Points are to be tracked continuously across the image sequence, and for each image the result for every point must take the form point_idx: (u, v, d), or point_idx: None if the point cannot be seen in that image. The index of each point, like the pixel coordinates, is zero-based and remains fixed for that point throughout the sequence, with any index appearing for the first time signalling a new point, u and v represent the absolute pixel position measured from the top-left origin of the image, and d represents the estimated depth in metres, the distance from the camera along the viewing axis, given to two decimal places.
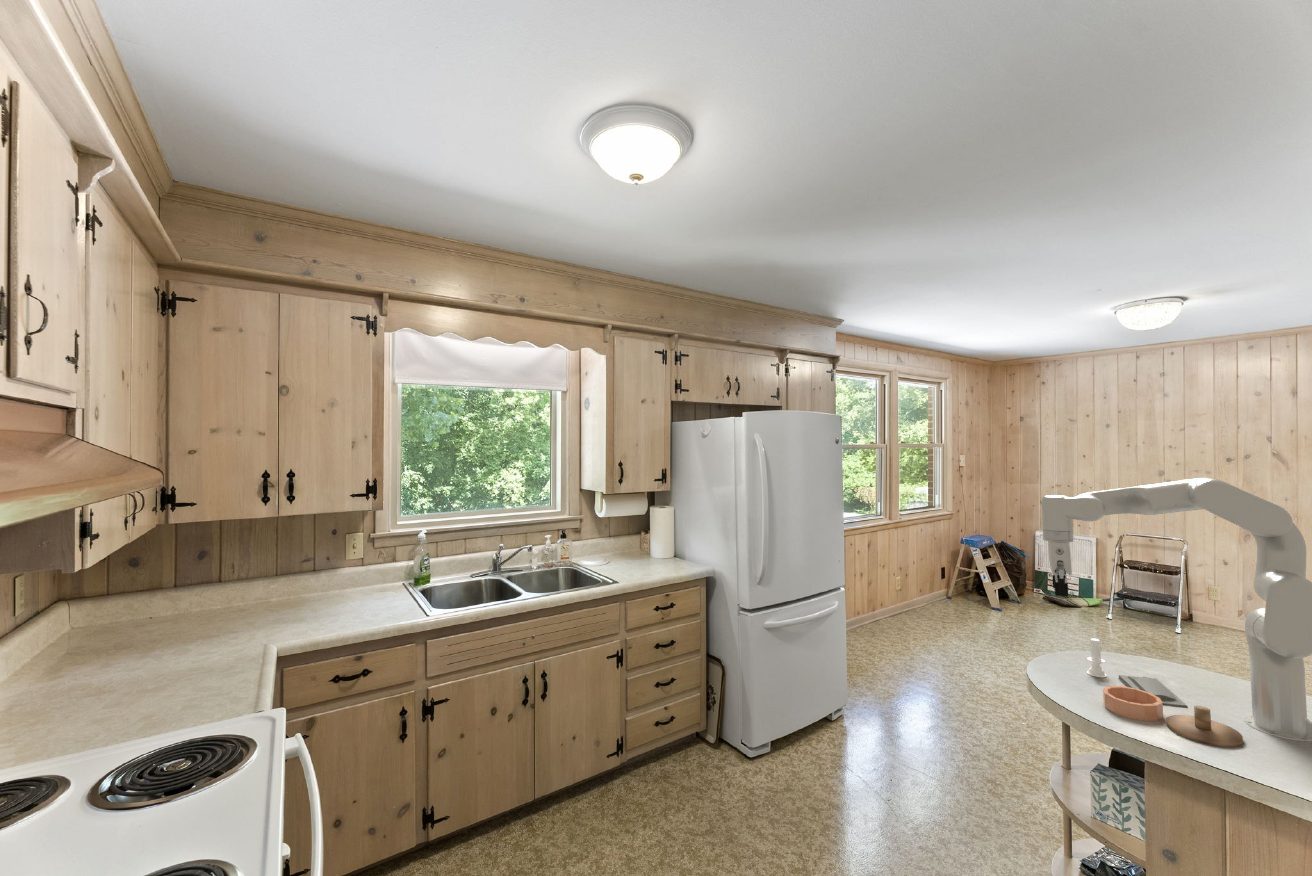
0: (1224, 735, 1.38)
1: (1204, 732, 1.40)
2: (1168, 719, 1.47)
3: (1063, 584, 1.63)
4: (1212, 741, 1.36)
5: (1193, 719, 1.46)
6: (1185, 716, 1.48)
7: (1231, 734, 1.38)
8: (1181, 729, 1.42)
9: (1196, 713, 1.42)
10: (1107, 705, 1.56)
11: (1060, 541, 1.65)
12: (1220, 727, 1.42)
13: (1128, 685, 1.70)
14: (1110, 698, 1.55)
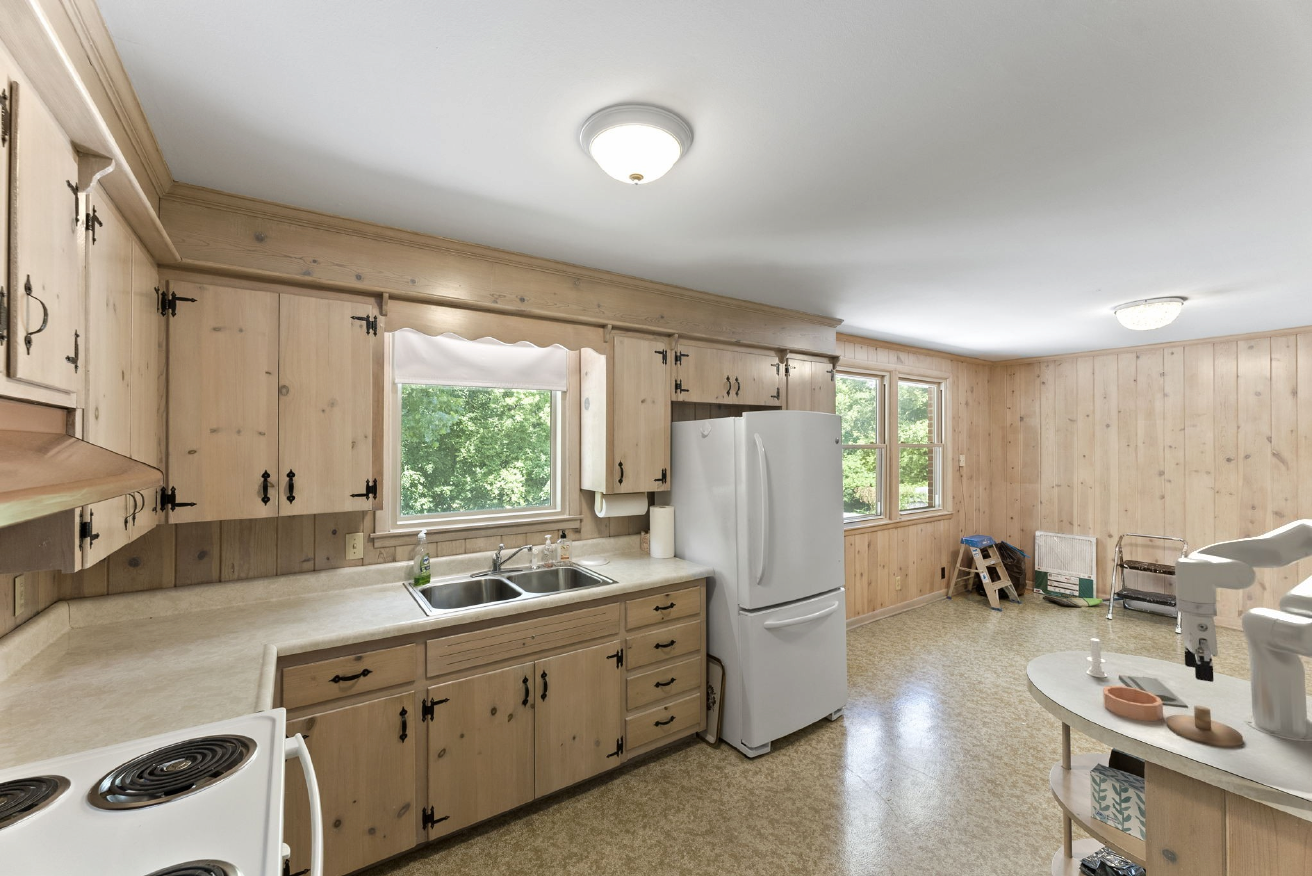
0: (1224, 735, 1.38)
1: (1204, 732, 1.40)
2: (1168, 719, 1.47)
3: (1207, 667, 1.37)
4: (1212, 741, 1.36)
5: (1193, 719, 1.46)
6: (1185, 716, 1.48)
7: (1231, 734, 1.38)
8: (1181, 729, 1.42)
9: (1196, 713, 1.42)
10: (1107, 705, 1.56)
11: (1202, 615, 1.39)
12: (1220, 727, 1.42)
13: (1128, 685, 1.70)
14: (1110, 698, 1.55)
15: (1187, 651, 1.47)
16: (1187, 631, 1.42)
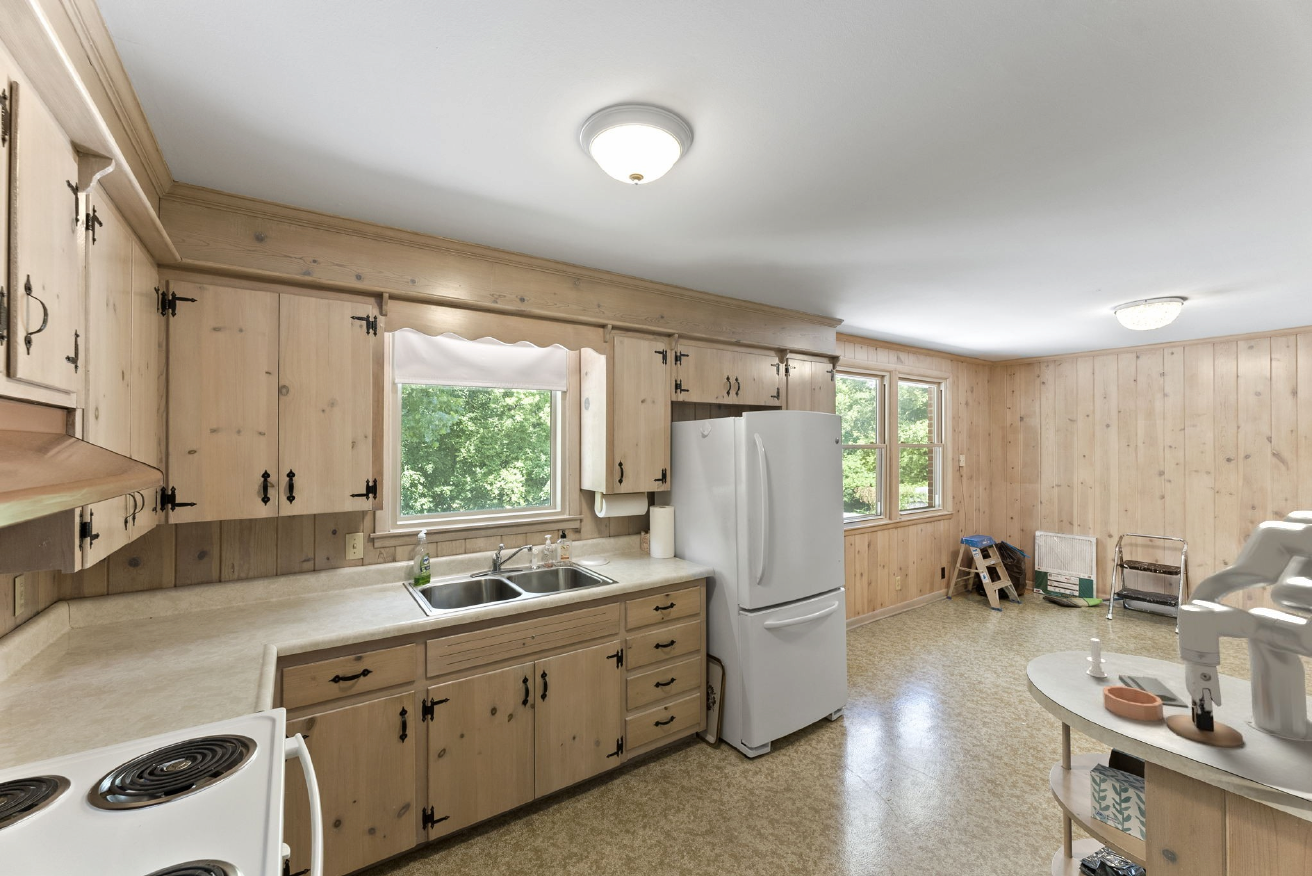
0: (1224, 735, 1.38)
1: (1204, 732, 1.40)
2: (1168, 719, 1.47)
3: (1208, 717, 1.39)
4: (1212, 741, 1.36)
5: None
6: (1185, 716, 1.48)
7: (1231, 734, 1.38)
8: (1181, 729, 1.42)
9: None
10: (1107, 705, 1.56)
11: (1205, 664, 1.39)
12: (1220, 727, 1.42)
13: (1128, 685, 1.70)
14: (1110, 698, 1.55)
15: (1194, 705, 1.44)
16: (1190, 680, 1.41)
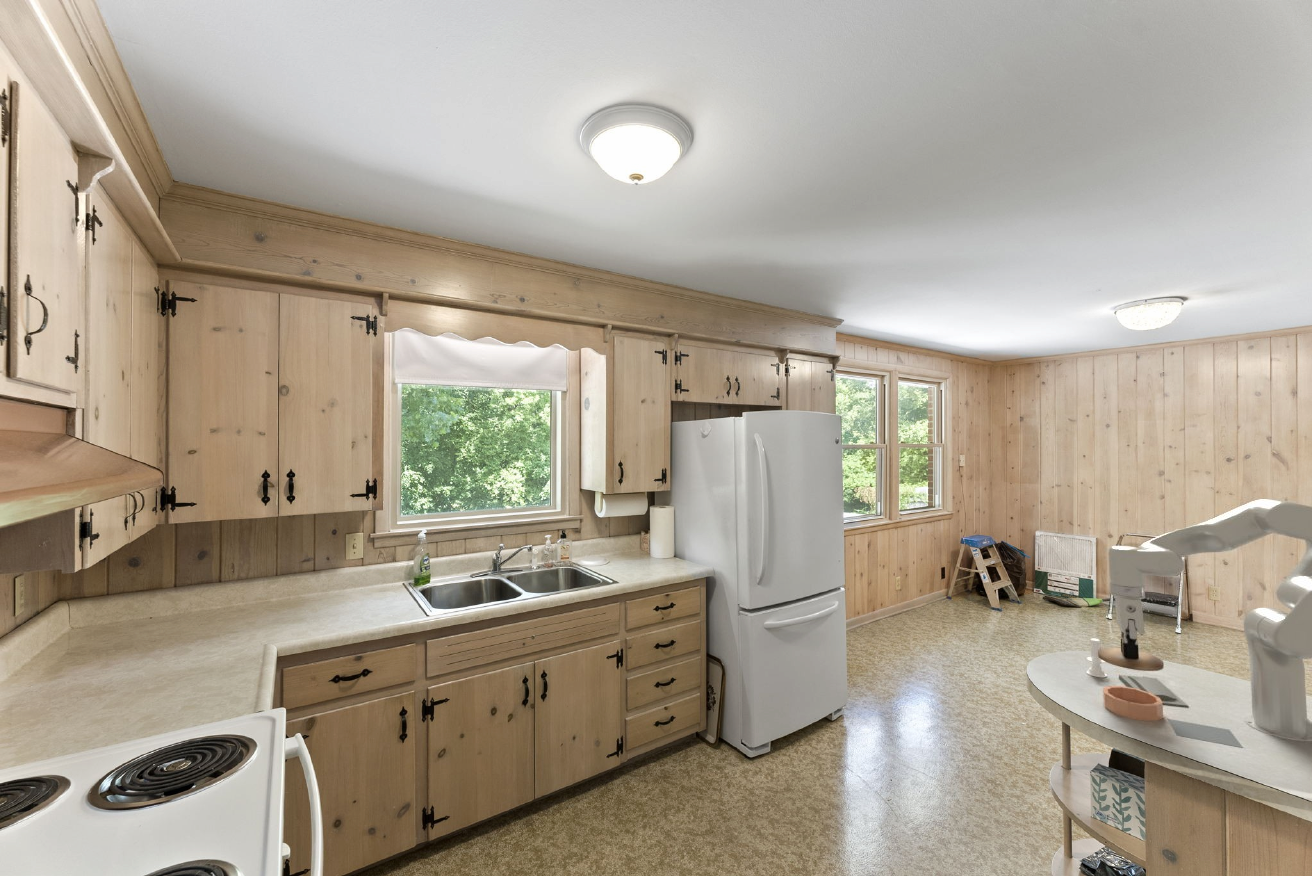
0: (1147, 661, 1.51)
1: (1129, 659, 1.53)
2: (1100, 651, 1.60)
3: (1133, 646, 1.53)
4: (1135, 666, 1.49)
5: None
6: (1116, 648, 1.61)
7: (1153, 661, 1.52)
8: (1109, 657, 1.55)
9: None
10: (1107, 705, 1.56)
11: (1131, 597, 1.52)
12: (1145, 656, 1.55)
13: (1128, 685, 1.70)
14: (1110, 698, 1.55)
15: None
16: (1118, 613, 1.55)
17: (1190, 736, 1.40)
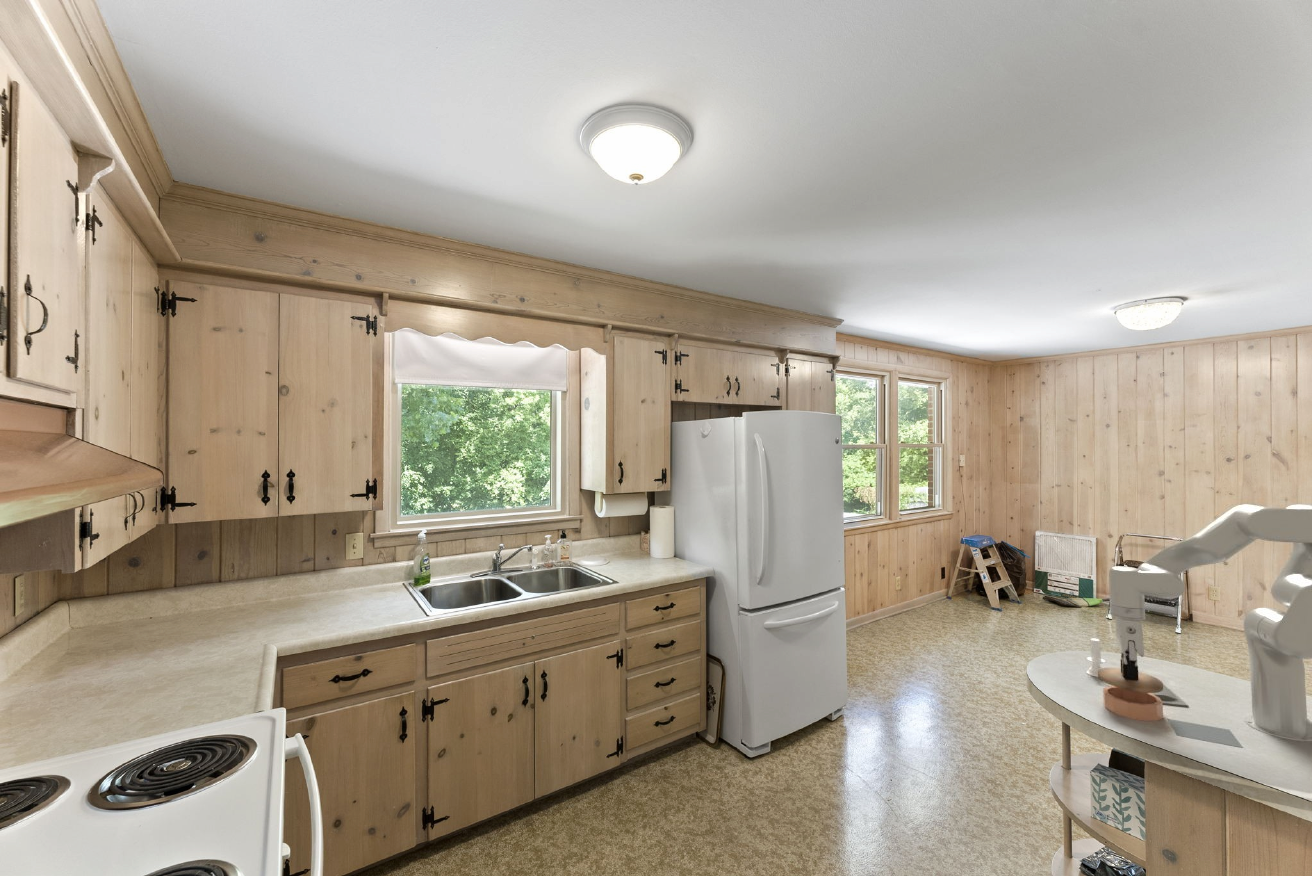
0: (1147, 683, 1.51)
1: (1129, 681, 1.53)
2: (1100, 671, 1.60)
3: (1133, 667, 1.53)
4: (1134, 687, 1.49)
5: None
6: (1115, 668, 1.61)
7: (1153, 682, 1.52)
8: (1109, 678, 1.55)
9: None
10: (1107, 705, 1.56)
11: (1131, 619, 1.52)
12: (1145, 677, 1.55)
13: None
14: (1110, 698, 1.55)
15: None
16: (1118, 633, 1.55)
17: (1190, 736, 1.40)
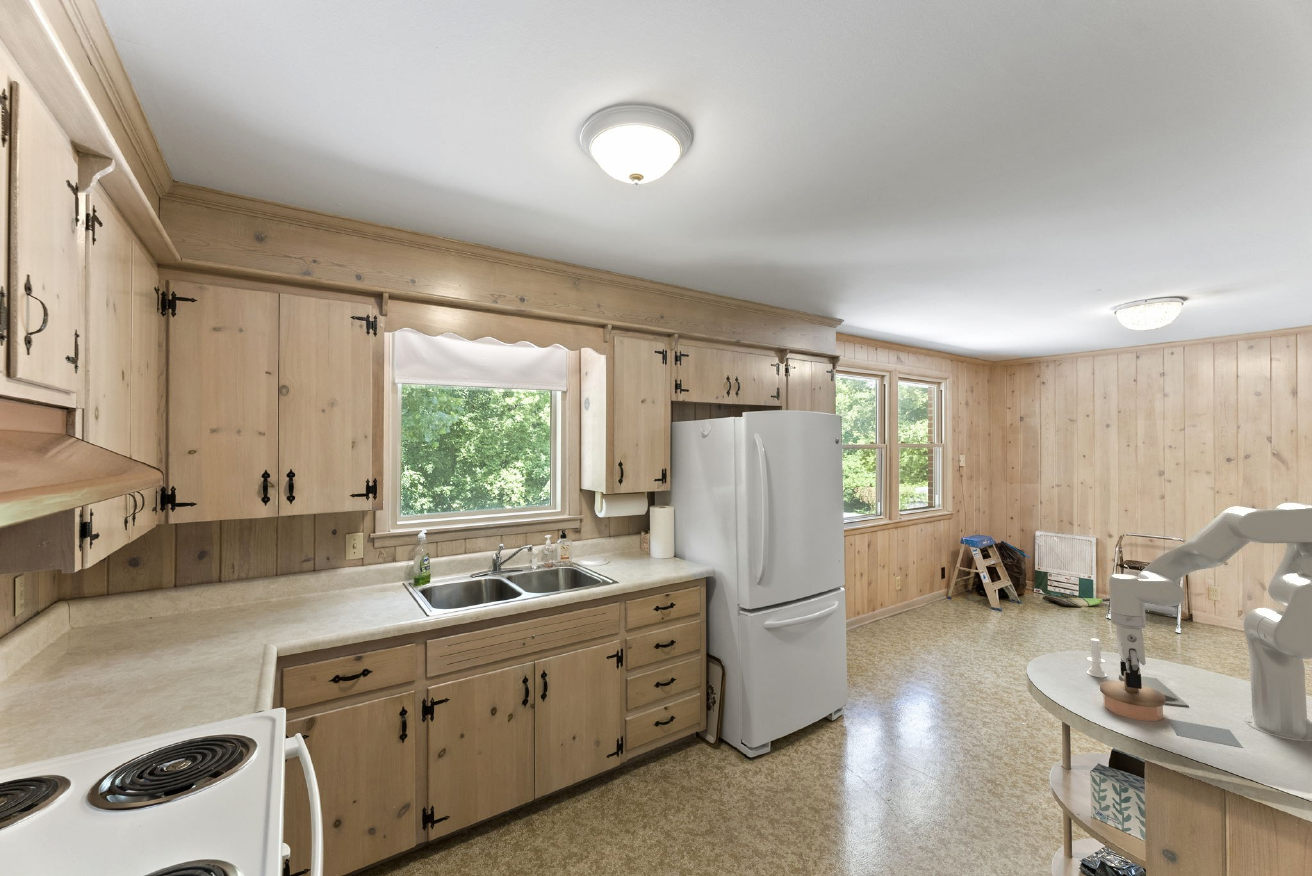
0: (1149, 697, 1.51)
1: (1131, 694, 1.53)
2: (1102, 684, 1.60)
3: (1136, 675, 1.50)
4: (1137, 702, 1.49)
5: None
6: (1118, 682, 1.61)
7: (1155, 696, 1.51)
8: (1111, 692, 1.54)
9: (1125, 678, 1.55)
10: (1107, 705, 1.56)
11: (1132, 627, 1.52)
12: (1147, 690, 1.55)
13: None
14: (1110, 698, 1.55)
15: (1122, 661, 1.59)
16: (1119, 641, 1.54)
17: (1190, 736, 1.40)
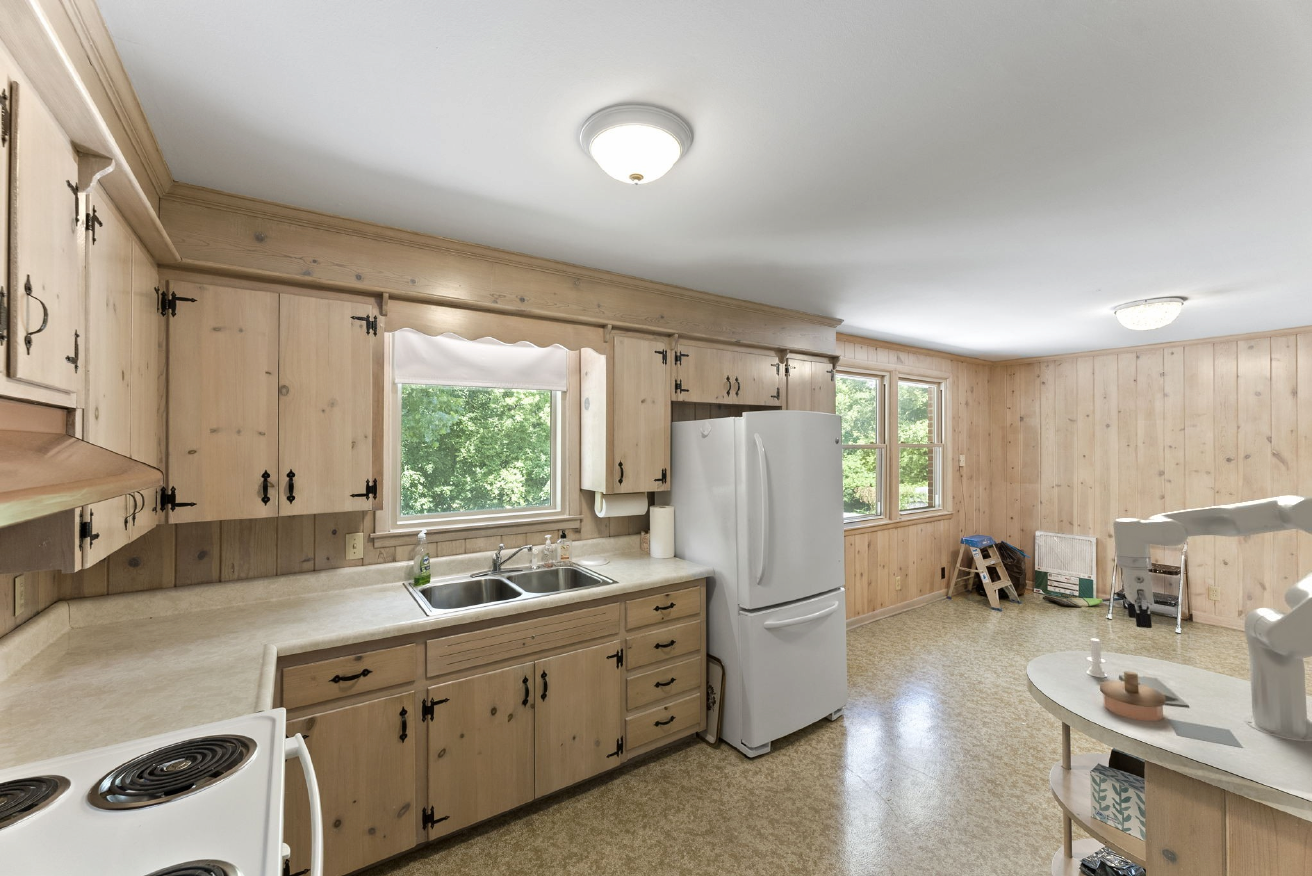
0: (1149, 697, 1.51)
1: (1131, 694, 1.53)
2: (1102, 684, 1.60)
3: (1146, 615, 1.52)
4: (1137, 702, 1.49)
5: None
6: (1118, 682, 1.61)
7: (1155, 696, 1.51)
8: (1111, 692, 1.54)
9: (1125, 678, 1.55)
10: (1107, 705, 1.56)
11: (1139, 568, 1.54)
12: (1147, 690, 1.55)
13: None
14: (1110, 698, 1.55)
15: (1129, 603, 1.62)
16: (1127, 584, 1.56)
17: (1190, 736, 1.40)
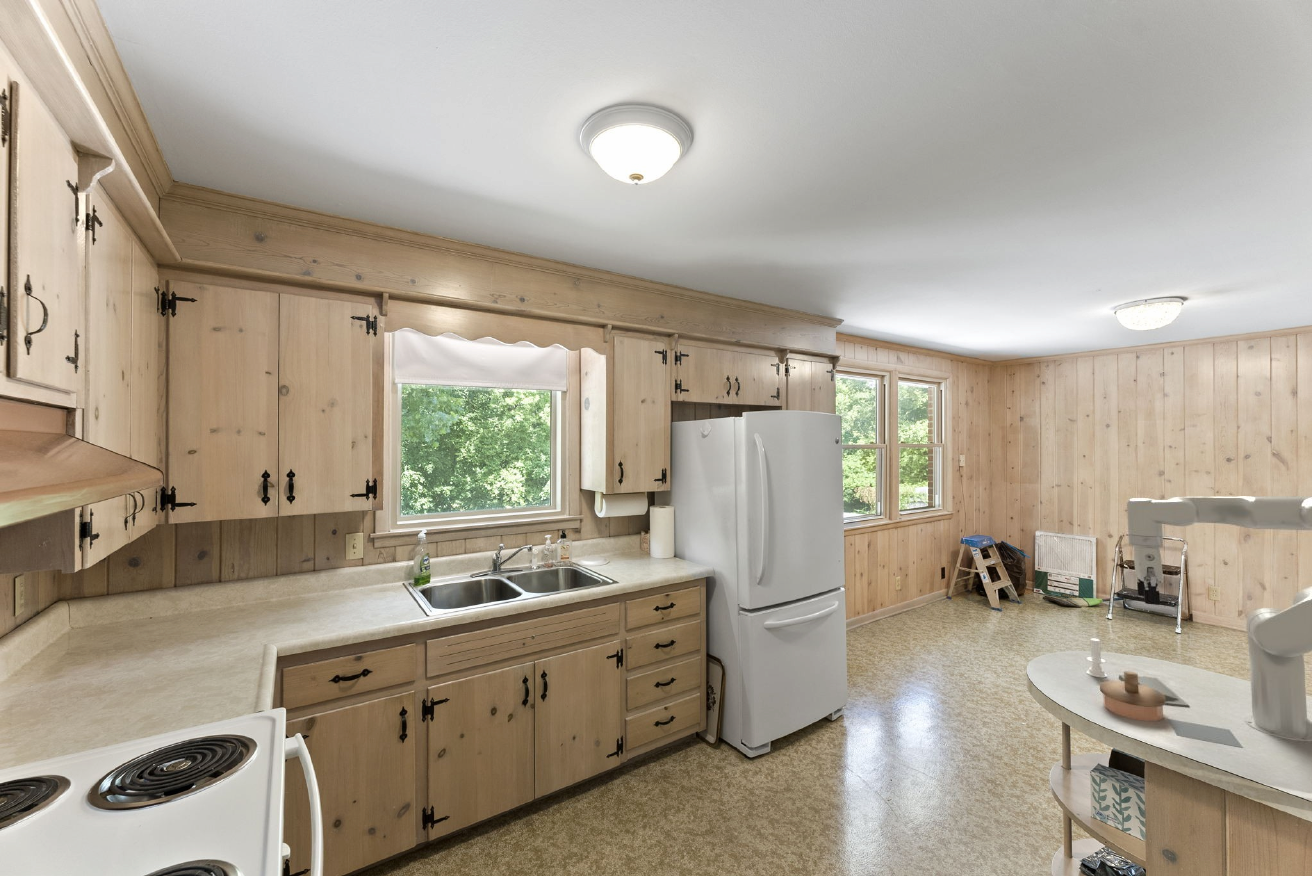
0: (1149, 697, 1.51)
1: (1131, 694, 1.53)
2: (1102, 684, 1.60)
3: (1154, 592, 1.55)
4: (1137, 702, 1.49)
5: None
6: (1118, 682, 1.61)
7: (1155, 696, 1.51)
8: (1111, 692, 1.54)
9: (1125, 678, 1.55)
10: (1107, 705, 1.56)
11: (1150, 547, 1.57)
12: (1147, 690, 1.55)
13: None
14: (1110, 698, 1.55)
15: (1139, 582, 1.65)
16: (1137, 562, 1.59)
17: (1190, 736, 1.40)
